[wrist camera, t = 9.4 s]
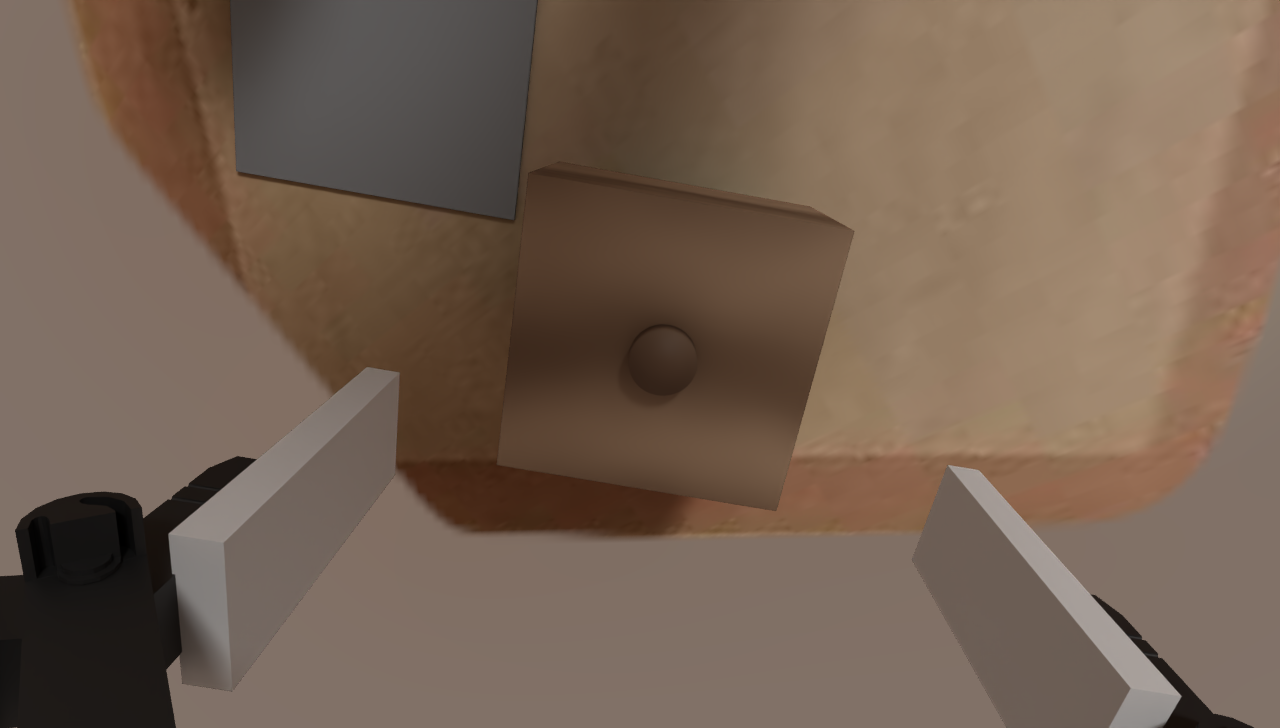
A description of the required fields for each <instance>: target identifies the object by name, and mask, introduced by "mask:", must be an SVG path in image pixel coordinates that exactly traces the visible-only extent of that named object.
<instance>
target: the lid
mask: <svg viewBox="0 0 1280 728" xmlns="http://www.w3.org/2000/svg"><path fill="white" fill-rule="evenodd" d="M853 234H854V231H853V230H852V229H850V228H848V227H846V226H844V225H843V224H841V223H839V222H837V221H835V220H834V219H832V218H830V217H828V216H826V215H825V214H823V213H821V212H819V211H817V210H815V209H814V208H812V207H810V206H804V205H798V204H793V203H787V202H782V201H776V200H770V199H765V198H759V197H754V196H748V195H743V194H737V193H731V192H726V191H720V190H715V189H709V188H703V187H698V186H692V185H687V184H681V183H675V182H670V181H664V180H659V179H653V178H648V177H642V176H636V175H631V174H625V173H620V172H614V171H608V170H603V169H597V168H592V167H586V166H581V165H575V164H569V163H564V162H557V163H554V164H551V165H549V166H546V167H543V168H541V169H538V170H535V171H532V172H530V173H528V182H527V191H526V200H525V210H524V219H523V228H522V237H521V246H520V256H519V265H518V274H517V283H516V292H515V301H514V311H513V320H512V329H511V338H510V347H509V357H508V366H507V375H506V384H505V393H504V402H503V412H502V421H501V430H500V439H499V448H498V458H497V465H500V466H506V467H512V468H518V469H524V470H530V471H536V472H542V473H548V474H554V475H560V476H566V477H572V478H579V479H585V480H591V481H597V482H603V483H609V484H615V485H621V486H627V487H633V488H639V489H645V490H651V491H657V492H663V493H669V494H675V495H681V496H688V497H694V498H700V499H706V500H712V501H718V502H724V503H730V504H736V505H742V506H748V507H754V508H760V509H766V510H772V511H776V510H777V507H778V503H779V500H780V496H781V493H782V489H783V485H784V482H785V478H786V475H787V471H788V467H789V464H790V460H791V457H792V453H793V450H794V446H795V442H796V439H797V435H798V432H799V428H800V424H801V421H802V417H803V414H804V410H805V407H806V403H807V399H808V396H809V392H810V389H811V385H812V381H813V378H814V374H815V371H816V367H817V364H818V360H819V356H820V353H821V349H822V346H823V342H824V338H825V335H826V331H827V328H828V324H829V321H830V317H831V313H832V310H833V306H834V303H835V299H836V295H837V292H838V288H839V285H840V281H841V277H842V274H843V270H844V267H845V263H846V260H847V256H848V252H849V249H850V245H851V242H852V238H853Z"/></svg>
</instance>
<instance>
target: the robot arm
mask: <svg viewBox="0 0 1280 728" xmlns="http://www.w3.org/2000/svg"><path fill="white" fill-rule="evenodd" d="M399 379H400V372H394V371H388V370H382V369H376V368H370V367H366V368H365V369H364V370H363V371H362V372H360V373H359V374H358V375H357V376H356V377H354V378H353V379H352V380H351V381H350V382H349V383H347V384H346V385H345V386H344V387H343V388H341V389H340V390H339V391H338V392H337V393H335V394H334V395H333V396H332V397H331V398H329V399H328V400H327V401H326V402H325V403H324V404H322V405H321V406H320V407H319V408H318V409H316V410H315V411H314V412H313V413H312V414H310V415H309V416H308V417H307V418H306V419H305V420H303V421H302V422H301V423H300V424H299V425H297V426H296V427H295V428H294V429H293V430H291V431H290V432H289V433H288V434H287V435H286V436H284V437H283V438H282V439H281V440H280V441H278V442H277V443H276V444H275V445H274V446H273V447H271V448H270V449H269V450H268V451H266V452H265V453H264V454H263V455H262V456H261V457H259V458H258V459H251V458H245V457H239V456H237V457H235V458H232V459H230V460H227V461H225V462H222V463H220V464H218V465H215V466H213V467H210V468H208V469H207V470H206V471H204V472H203V473H202V474H201V475H199V476H198V477H197V478H195V479H194V480H193V481H191V482H190V483H189V486H188V487H184V488H182V489H181V490H180V491H179V492H177V493H176V494H175V495H173V496H172V499H171V500H167V501H165V502H164V503H163V504H162V505H160V506H159V507H158V508H156V509H155V510H154V511H152V512H151V513H150V514H149V515H147V516H146V517H145V518H143V515H142V507H141V506H140V504H139V503H138V501H137V500H136V499H135V498H132V497H130V496H127V495H125V494H122V493H112V492H94V493H82V494H77V495H73V496H69V497H64V498H61V499H57V500H54V501H52V502H50V503H47V504H45V505H42V506H40V507H38V508H36V509H34V510H33V511H32V512H30V513H29V514H28V515H26V516H25V517H23V518H22V519H21V520H20V522H19V524H18V526H17V528H16V530H15V532H16V538H17V543H18V548H19V553H20V559H21V564H22V569H23V575H17V576H0V728H14V727H17V728H176V726H175V720H174V714H173V708H172V702H171V696H170V690H169V685H168V678H167V672H166V669H167V668H168V667H169V666H170V665H171V664H172V663H173V661H174V660H175V659H176V658H177V657H178V656H179V655H180V663H181V675H182V684H187V685H193V686H200V687H206V688H213V689H220V690H226V691H233V690H234V689H235V687H236V686H237V684H238V683H239V682H240V681H241V679H242V678H243V677H244V675H245V674H246V673H247V671H248V670H249V669H250V667H251V666H252V665H253V663H254V662H255V661H256V659H257V658H258V657H259V655H260V654H261V653H262V651H263V650H264V649H265V647H266V646H267V645H268V643H269V642H270V641H271V639H272V638H273V637H274V635H275V634H276V633H277V631H278V630H279V629H280V627H281V626H282V625H283V623H284V622H285V621H286V619H287V618H288V617H289V615H290V614H291V612H292V611H293V610H294V609H295V607H296V606H297V605H298V603H299V602H300V601H301V599H302V598H303V596H304V595H305V594H306V593H307V591H308V590H309V589H310V587H311V586H312V585H313V583H314V582H315V581H316V579H317V578H318V577H319V575H320V574H321V573H322V571H323V570H324V569H325V567H326V566H327V565H328V563H329V562H330V561H331V559H332V558H333V557H334V555H335V554H336V553H337V551H338V550H339V549H340V547H341V546H342V545H343V543H344V542H345V541H346V539H347V538H348V537H349V536H350V534H351V533H352V532H353V530H354V529H355V527H356V526H357V525H358V524H359V522H360V521H361V519H362V518H363V517H364V516H365V514H366V513H367V512H368V510H369V509H370V507H371V506H372V505H373V503H374V502H375V501H376V499H377V498H378V497H379V495H380V494H381V493H382V491H383V490H384V489H385V488H386V486H387V485H388V483H389V482H390V481H391V479H392V478H393V477H394V476H395V464H396V443H397V421H398V400H399ZM912 561H913V563H914V564H915V566H916V568H917V570H918V572H919V573H920V575H921V577H922V579H923V581H924V582H925V584H926V586H927V588H928V589H929V591H930V593H931V595H932V597H933V598H934V600H935V602H936V604H937V605H938V607H939V609H940V611H941V612H942V614H943V616H944V618H945V620H946V621H947V623H948V625H949V627H950V628H951V630H952V632H953V634H954V635H955V637H956V639H957V641H958V643H959V644H960V646H961V648H962V650H963V652H964V653H965V655H966V657H967V659H968V660H969V662H970V664H971V666H972V667H973V669H974V671H975V673H976V674H977V676H978V678H979V680H980V681H981V683H982V685H983V687H984V689H985V691H986V692H987V694H988V696H989V698H990V699H991V701H992V703H993V705H994V706H995V708H996V710H997V712H998V713H999V715H1000V717H1001V719H1002V721H1003V722H1004V724H1005V726H1006V728H1254V727H1252V726H1249V725H1247V724H1245V723H1243V722H1240V721H1238V720H1236V719H1234V718H1230V717H1226V716H1222V715H1218V714H1213V713H1212V712H1211V711H1210V710H1209V708H1208V707H1207V706H1206V705H1205V704H1204V703H1203V702H1202V701H1201V700H1200V699H1199V698H1198V697H1197V696H1196V695H1195V693H1194V692H1193V691H1192V690H1191V689H1190V688H1189V687H1188V686H1187V685H1186V684H1185V683H1184V681H1183V680H1182V679H1181V678H1180V677H1179V676H1178V675H1177V674H1176V673H1175V672H1174V671H1173V670H1172V668H1170V666H1169V665H1168V664H1167V663H1166V662H1165V661H1164V660H1163V659H1162V658H1158V653H1157V652H1156V651H1155V650H1154V649H1153V648H1152V647H1151V646H1150V645H1149V644H1148V643H1147V641H1145V640H1142V636H1141V635H1140V634H1139V633H1138V632H1137V631H1136V630H1135V629H1134V627H1133V626H1132V625H1131V624H1130V623H1129V622H1128V621H1127V620H1126V619H1125V618H1124V617H1123V616H1122V615H1121V614H1120V613H1119V612H1117V611H1116V610H1115V609H1113V608H1112V607H1110V606H1109V605H1108V604H1106V603H1105V602H1103V601H1102V600H1101V599H1100V598H1098V597H1097V596H1095V595H1091V594H1089V593H1088V591H1087V590H1086V589H1085V588H1084V587H1083V586H1082V585H1081V584H1080V583H1079V581H1078V580H1077V579H1076V578H1075V577H1074V576H1073V575H1072V574H1071V572H1069V570H1068V569H1067V568H1066V567H1065V566H1064V565H1063V564H1062V562H1061V561H1060V560H1059V559H1058V558H1057V557H1056V556H1055V555H1054V554H1053V552H1052V551H1051V550H1050V549H1049V548H1048V547H1047V546H1046V545H1045V544H1044V543H1043V541H1042V540H1041V539H1040V538H1039V537H1038V536H1037V535H1036V533H1035V532H1034V531H1033V530H1032V529H1031V528H1030V527H1029V526H1028V525H1027V523H1026V522H1025V521H1024V520H1023V519H1022V518H1021V517H1020V516H1019V515H1018V513H1017V512H1016V511H1015V510H1014V509H1013V508H1012V507H1011V506H1010V505H1009V503H1008V502H1007V501H1006V500H1005V499H1004V498H1003V497H1002V496H1001V494H1000V493H999V492H998V491H997V490H996V489H995V488H994V487H993V486H992V484H991V483H990V482H989V481H988V480H987V479H986V478H985V477H984V476H983V474H982V473H981V472H980V471H979V470H974V469H968V468H962V467H957V466H951V465H947V468H946V471H945V473H944V476H943V478H942V481H941V484H940V486H939V489H938V492H937V494H936V497H935V500H934V502H933V505H932V508H931V510H930V513H929V516H928V518H927V521H926V524H925V526H924V529H923V532H922V534H921V537H920V540H919V542H918V545H917V548H916V550H915V553H914V556H913V558H912Z"/></svg>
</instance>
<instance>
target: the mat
mask: <svg viewBox="0 0 1280 728" xmlns="http://www.w3.org/2000/svg"><path fill="white" fill-rule="evenodd" d="M537 3H538V0H230V12H231V39H232V66H233V94H234V121H235V149H236V171H238V172H243V173H249V174H255V175H260V176H266V177H272V178H278V179H283V180H289V181H295V182H300V183H306V184H312V185H317V186H323V187H329V188H334V189H340V190H346V191H351V192H357V193H363V194H368V195H374V196H380V197H385V198H391V199H397V200H402V201H408V202H414V203H420V204H425V205H431V206H437V207H442V208H448V209H454V210H459V211H465V212H471V213H476V214H482V215H488V216H493V217H499V218H505V219H510V220H515V213H516V204H517V194H518V184H519V175H520V165H521V156H522V146H523V137H524V127H525V117H526V108H527V98H528V89H529V79H530V70H531V60H532V50H533V41H534V31H535V22H536V12H537Z"/></svg>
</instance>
